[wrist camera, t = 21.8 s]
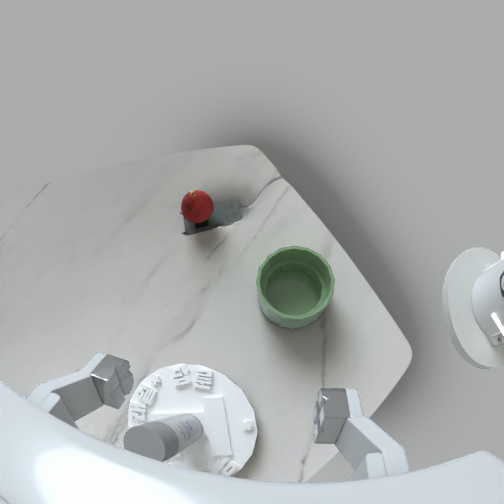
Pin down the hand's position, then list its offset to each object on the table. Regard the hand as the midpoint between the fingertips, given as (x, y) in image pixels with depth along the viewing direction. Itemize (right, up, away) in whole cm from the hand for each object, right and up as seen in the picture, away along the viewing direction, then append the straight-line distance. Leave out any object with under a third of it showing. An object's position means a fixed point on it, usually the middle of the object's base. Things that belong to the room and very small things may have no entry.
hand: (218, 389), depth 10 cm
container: (-8, -19, +23) cm, 31 cm away
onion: (-8, +12, +42) cm, 45 cm away
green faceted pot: (+8, -1, +34) cm, 35 cm away
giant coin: (-8, -21, +25) cm, 34 cm away
